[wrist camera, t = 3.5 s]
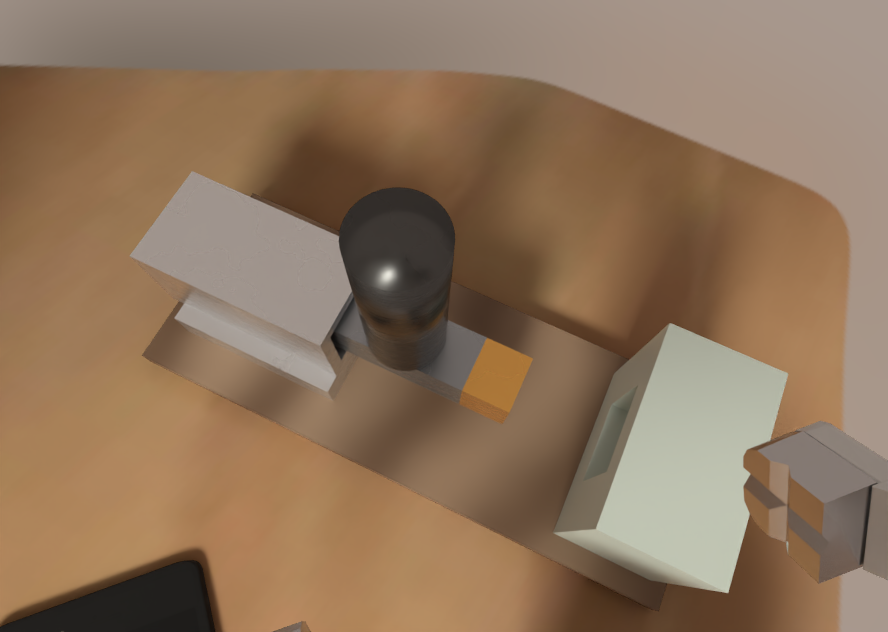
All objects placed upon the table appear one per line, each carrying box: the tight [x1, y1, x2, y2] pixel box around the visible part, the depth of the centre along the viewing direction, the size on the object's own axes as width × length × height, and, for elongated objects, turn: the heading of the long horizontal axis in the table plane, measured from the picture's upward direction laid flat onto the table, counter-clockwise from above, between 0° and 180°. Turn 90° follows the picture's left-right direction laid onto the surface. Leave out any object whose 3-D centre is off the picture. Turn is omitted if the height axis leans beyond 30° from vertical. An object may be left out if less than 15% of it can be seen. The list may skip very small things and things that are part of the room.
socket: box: [553, 323, 788, 593], centre depth 24 cm, size 4×8×7 cm, turn 155°
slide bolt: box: [330, 188, 533, 424], centre depth 22 cm, size 15×3×10 cm, turn 65°
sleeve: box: [130, 171, 358, 401], centre depth 27 cm, size 9×6×6 cm
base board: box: [142, 194, 667, 611], centre depth 29 cm, size 26×10×1 cm, turn 65°
